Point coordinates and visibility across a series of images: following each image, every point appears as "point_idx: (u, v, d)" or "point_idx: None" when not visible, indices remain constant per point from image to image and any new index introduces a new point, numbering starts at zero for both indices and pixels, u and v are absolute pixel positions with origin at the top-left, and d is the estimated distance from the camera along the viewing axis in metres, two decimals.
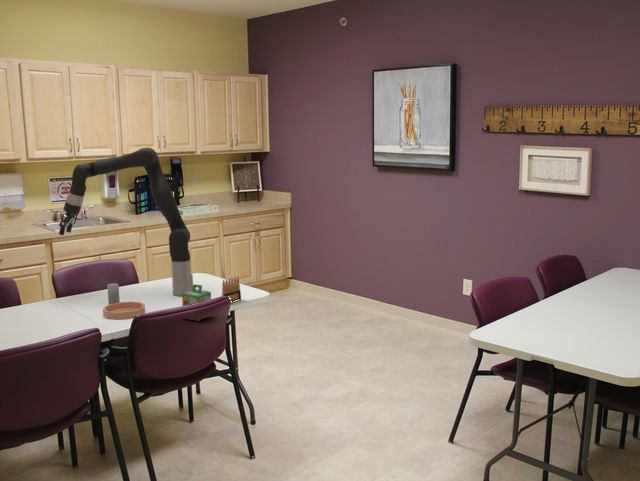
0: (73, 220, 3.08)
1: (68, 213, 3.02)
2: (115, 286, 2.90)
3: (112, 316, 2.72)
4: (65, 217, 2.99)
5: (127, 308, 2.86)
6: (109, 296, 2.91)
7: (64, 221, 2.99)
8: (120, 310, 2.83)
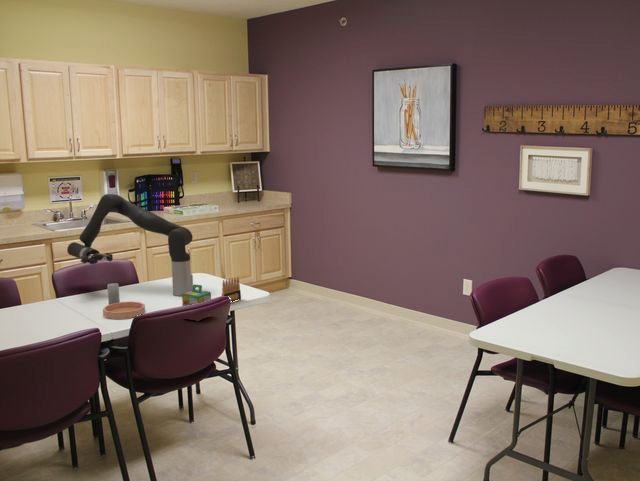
0: (100, 254, 3.05)
1: (86, 257, 3.05)
2: (115, 286, 2.90)
3: (112, 316, 2.72)
4: (80, 258, 3.02)
5: (127, 308, 2.86)
6: (109, 296, 2.91)
7: (81, 258, 3.00)
8: (120, 310, 2.83)
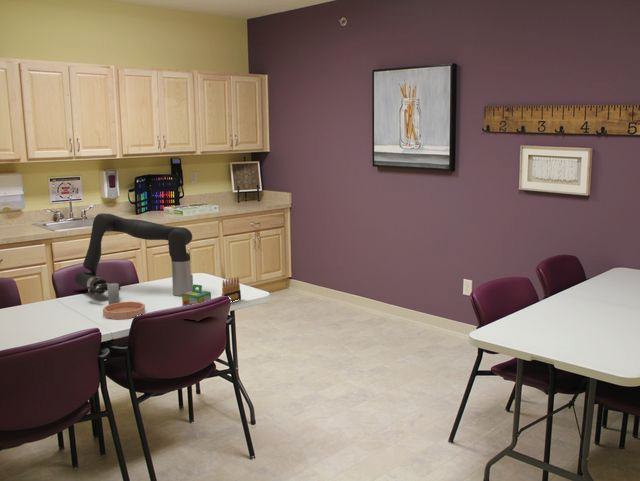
0: (107, 284, 3.02)
1: (93, 287, 3.02)
2: (115, 286, 2.90)
3: (112, 316, 2.72)
4: (88, 288, 2.99)
5: (127, 308, 2.86)
6: (109, 296, 2.91)
7: (89, 289, 2.97)
8: (120, 310, 2.83)
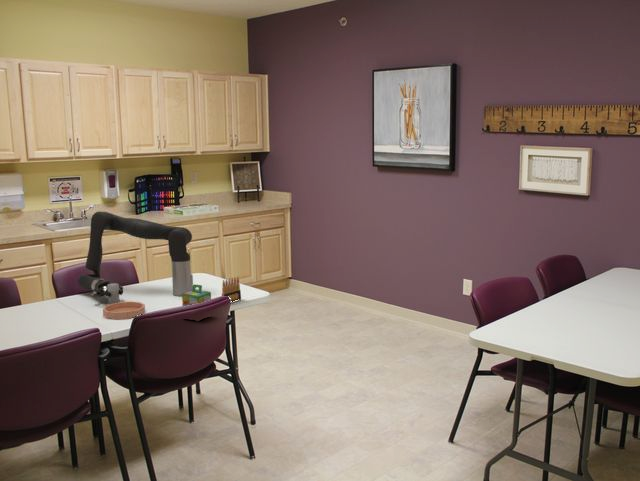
0: None
1: (98, 289, 2.97)
2: (115, 286, 2.90)
3: (112, 316, 2.72)
4: (94, 291, 2.93)
5: (127, 308, 2.86)
6: None
7: (96, 291, 2.92)
8: (120, 310, 2.83)
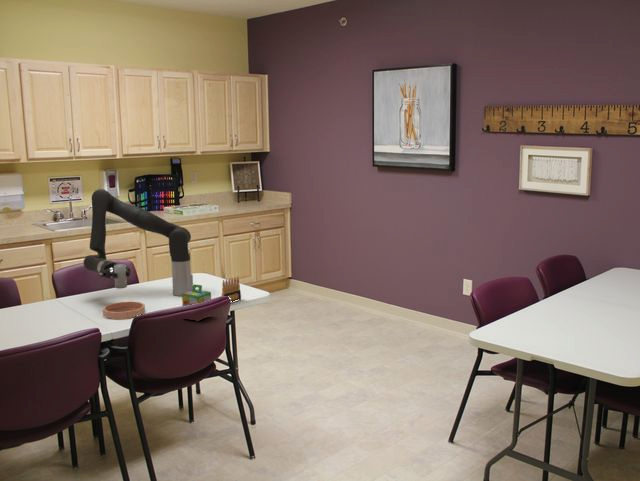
0: None
1: (104, 271, 2.83)
2: (122, 267, 2.76)
3: (112, 316, 2.72)
4: (100, 272, 2.79)
5: (127, 308, 2.86)
6: None
7: (102, 272, 2.78)
8: (120, 310, 2.83)
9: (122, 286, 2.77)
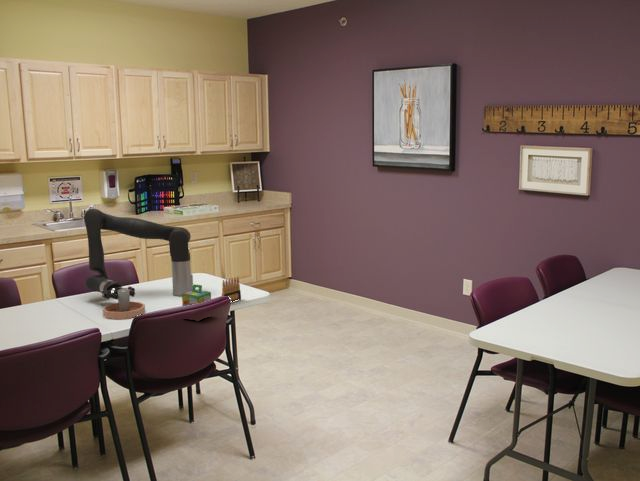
0: (121, 288, 2.83)
1: (107, 291, 2.83)
2: (126, 292, 2.76)
3: (112, 316, 2.72)
4: (102, 293, 2.80)
5: None
6: (119, 302, 2.77)
7: (103, 293, 2.78)
8: None
9: (125, 311, 2.78)
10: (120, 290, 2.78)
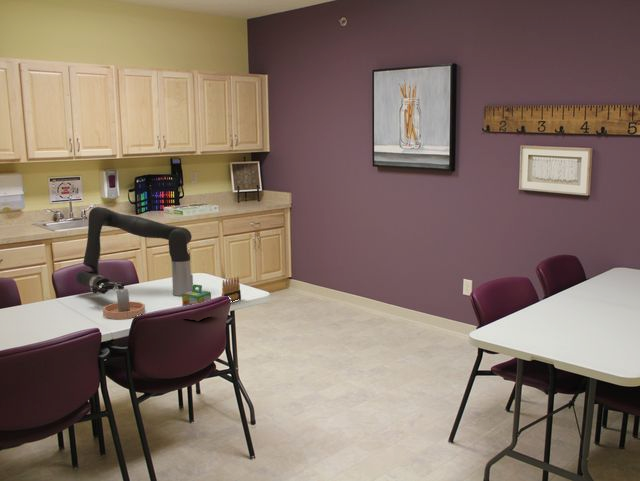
0: (110, 283, 2.93)
1: (96, 286, 2.93)
2: (124, 292, 2.77)
3: (112, 316, 2.72)
4: None
5: None
6: (118, 302, 2.77)
7: (92, 288, 2.88)
8: None
9: (125, 311, 2.78)
10: (119, 290, 2.78)
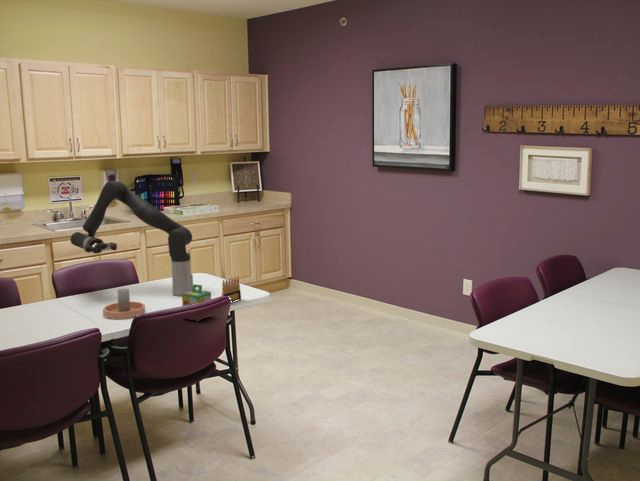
0: (103, 243, 2.99)
1: (89, 246, 2.99)
2: (125, 292, 2.77)
3: (112, 316, 2.72)
4: (84, 247, 2.96)
5: None
6: (119, 302, 2.78)
7: (85, 247, 2.94)
8: None
9: (125, 311, 2.78)
10: (120, 290, 2.78)
